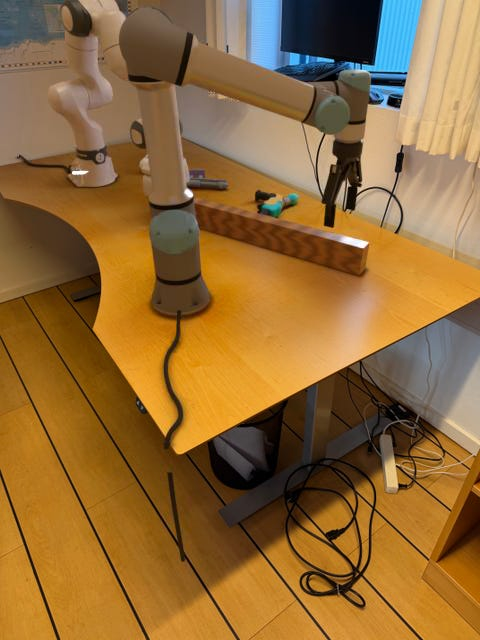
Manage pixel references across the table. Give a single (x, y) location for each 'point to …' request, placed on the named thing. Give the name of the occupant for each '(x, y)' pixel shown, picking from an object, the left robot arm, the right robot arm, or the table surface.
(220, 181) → the toy gun
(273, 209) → the toy gun
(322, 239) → the beam
